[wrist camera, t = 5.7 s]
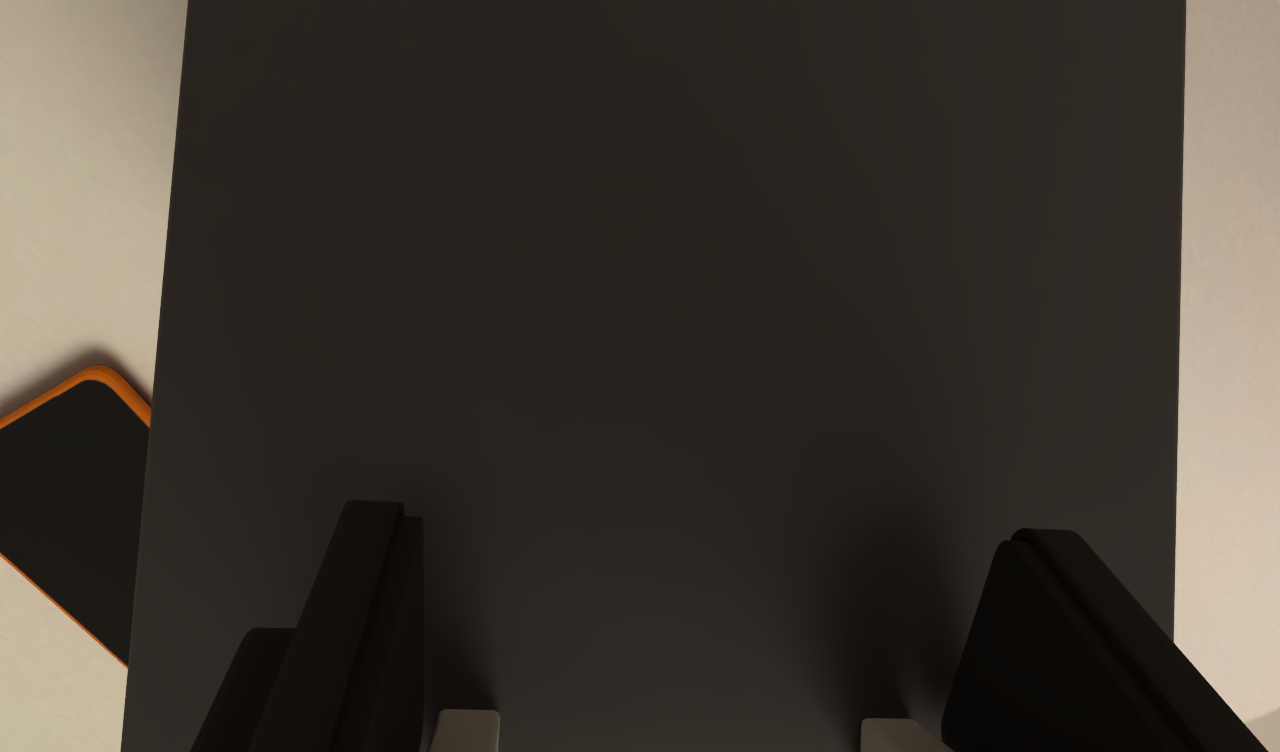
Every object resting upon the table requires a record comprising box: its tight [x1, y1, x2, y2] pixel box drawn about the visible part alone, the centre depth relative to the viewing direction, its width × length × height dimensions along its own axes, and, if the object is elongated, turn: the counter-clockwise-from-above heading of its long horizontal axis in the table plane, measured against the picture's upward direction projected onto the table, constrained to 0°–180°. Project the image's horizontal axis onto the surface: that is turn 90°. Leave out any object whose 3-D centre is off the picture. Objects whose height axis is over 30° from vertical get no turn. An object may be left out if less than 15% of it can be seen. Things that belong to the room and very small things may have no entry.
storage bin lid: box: [121, 0, 1186, 752], centre depth 9 cm, size 14×13×5 cm
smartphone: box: [0, 365, 151, 669], centre depth 31 cm, size 8×17×1 cm, turn 29°
